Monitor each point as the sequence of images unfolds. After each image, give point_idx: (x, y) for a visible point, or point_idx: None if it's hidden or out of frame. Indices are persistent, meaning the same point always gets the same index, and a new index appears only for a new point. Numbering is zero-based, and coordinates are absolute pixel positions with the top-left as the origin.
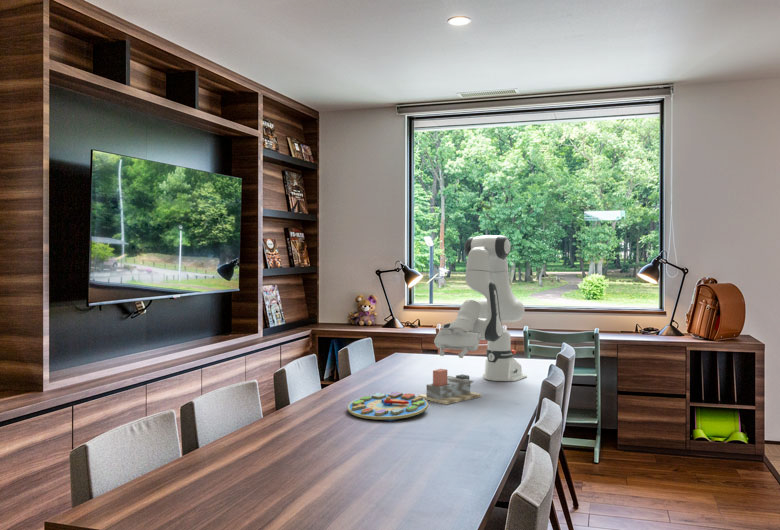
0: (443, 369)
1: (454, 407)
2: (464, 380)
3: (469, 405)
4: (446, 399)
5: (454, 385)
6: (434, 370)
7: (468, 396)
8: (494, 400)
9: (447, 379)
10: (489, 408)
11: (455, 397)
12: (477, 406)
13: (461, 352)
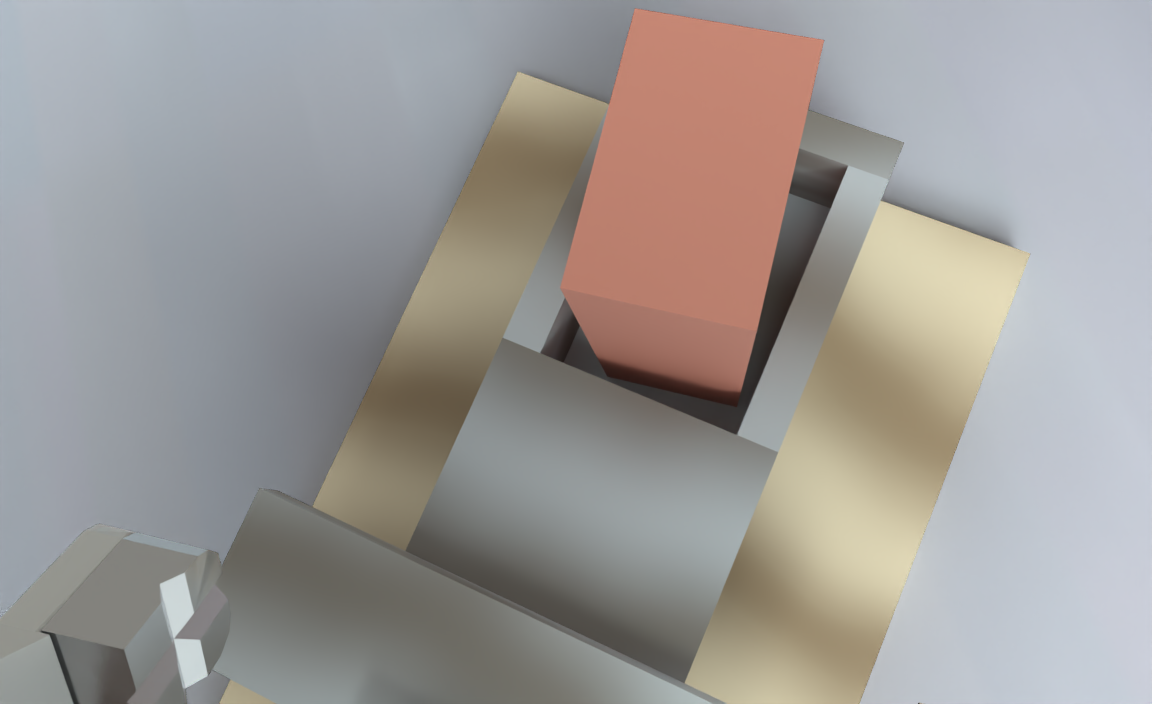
0: (655, 275)
1: (393, 21)
2: (336, 593)
3: (258, 188)
4: (552, 186)
5: (482, 396)
6: (797, 65)
7: (331, 493)
8: (22, 588)
9: (715, 699)
10: (22, 159)
11: (480, 354)
12: (162, 185)
13: (42, 625)
